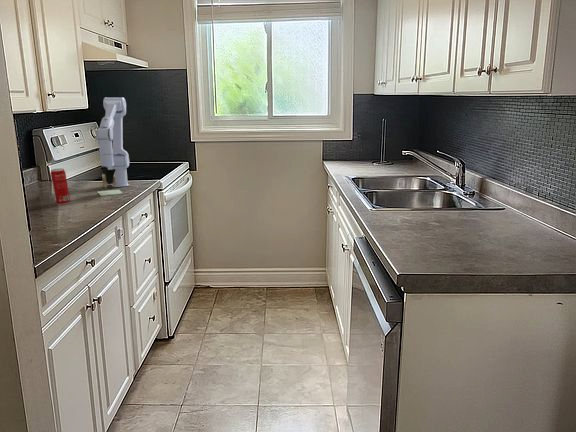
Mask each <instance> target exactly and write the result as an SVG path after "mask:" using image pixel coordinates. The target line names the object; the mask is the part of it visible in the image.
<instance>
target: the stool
mask: <svg viewBox="0 0 576 432" xmlns="http://www.w3.org/2000/svg"><path fill="white" fill-rule="evenodd" d="M101 177H102V186H103V187H104V188H108V183H107V181H106V176H105V174H103V173H102V174H101ZM112 185H113V186H112ZM112 185H111V186H112V188H117V187H116V182H115V175H114V177H113V184H112Z"/></svg>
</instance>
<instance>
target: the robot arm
mask: <svg viewBox="0 0 576 432" xmlns="http://www.w3.org/2000/svg"><path fill="white" fill-rule="evenodd" d="M126 101H127V100H126V99H125V97H106V96H105V97H104V98H103V104H102V105H103V108H104V111H105V114H104V116H103V117H102V118H101V121H100V125H99V128H98V129H96V131H95V136H96V137H95V138H96V139H97V140H96V141H97V144H98V147H99V149H98V151H99V158H100V163H97V165H98V166H99V167H100V166H101V167H100V168H99V169H100V170H101V172H102V174H105V176H106V181H107V185H111V186H112V187H113V185H112V184H113V177H114V175H115V182H116V187H115V188H121V187H122V188H123V187H130V186H131V184H129V183H128V173H127V172H128V171H127V168H129V166H130V155H129V153H128V151H127V150H125V149H124V146H123V145H124V140H123V137H124V136H123V135H124V134H123V133H124V131H123V126H124V125H123V122H124V121H123V119H124V117H125V116H127V115H126V114H127V102H126Z"/></svg>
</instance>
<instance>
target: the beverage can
mask: <svg viewBox="0 0 576 432" xmlns="http://www.w3.org/2000/svg"><path fill="white" fill-rule="evenodd" d="M50 178H51V184H52V188H53V194H54V200H55V204H56V205H59V206H60V205H61V206H63V205H68V204H70V203H71V199H70V198H71V197H70V192H69V186H68V182H67V174H66V170H65V169H64V168H53V169H51V170H50Z"/></svg>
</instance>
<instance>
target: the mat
mask: <svg viewBox="0 0 576 432" xmlns="http://www.w3.org/2000/svg"><path fill="white" fill-rule="evenodd" d="M97 194H99V196H100V197H106V196H116V195H117V196H119V195H123V194H124V193H123V192H122V190H120V189H111V190H110V189H108V190H101V191H98V190H97Z"/></svg>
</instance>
